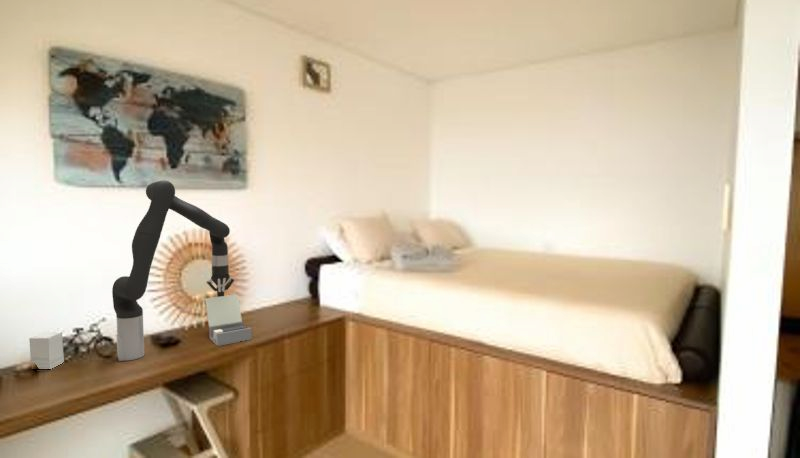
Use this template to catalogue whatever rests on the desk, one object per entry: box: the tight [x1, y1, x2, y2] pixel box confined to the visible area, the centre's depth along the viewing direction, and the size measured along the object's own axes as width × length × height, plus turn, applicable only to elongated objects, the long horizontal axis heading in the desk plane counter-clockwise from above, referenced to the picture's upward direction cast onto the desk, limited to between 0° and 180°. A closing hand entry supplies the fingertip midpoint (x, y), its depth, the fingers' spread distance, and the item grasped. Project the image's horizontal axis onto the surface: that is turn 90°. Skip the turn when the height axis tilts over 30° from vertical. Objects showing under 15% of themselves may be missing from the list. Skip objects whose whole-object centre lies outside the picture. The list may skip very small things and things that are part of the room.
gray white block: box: [213, 325, 248, 341], centre depth 204 cm, size 4×14×4 cm, turn 128°
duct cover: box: [204, 294, 243, 327], centre depth 211 cm, size 15×13×1 cm
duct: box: [208, 321, 253, 347], centre depth 204 cm, size 15×13×5 cm
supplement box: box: [28, 331, 65, 370], centre depth 169 cm, size 7×7×13 cm
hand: (220, 298), depth 214 cm, fingers closed
